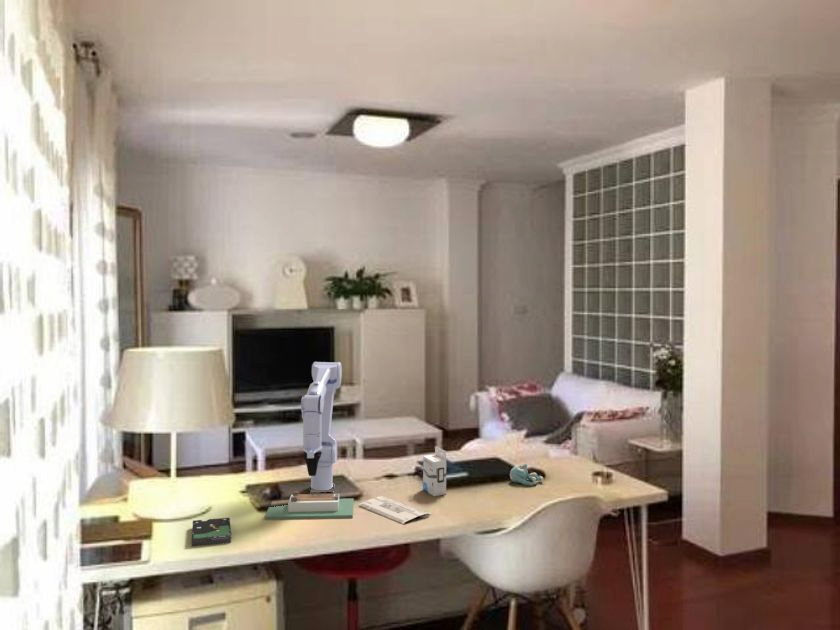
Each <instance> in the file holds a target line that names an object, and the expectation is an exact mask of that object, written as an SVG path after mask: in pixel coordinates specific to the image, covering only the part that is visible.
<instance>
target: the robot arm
mask: <svg viewBox="0 0 840 630" xmlns="http://www.w3.org/2000/svg"><path fill="white" fill-rule="evenodd" d="M342 367H343V365H342V363H341V362H340V361H337V362H336V361H335V362H330V361H329V362H328V361H327V362H326V361H323V362H322V361H314V362H313V363H312V364H311V377H312V380H313V382H312V383H310V384H309V387H308V389H307V392H306V394H305V395H304V396H302V397H301V401H300V411H301V419H302V424H303V425H302V430H303V432H302V433H303V434H302V443H303V444H302V445H300V446H299V450H303V454H302V456H303V459H304V461H305V464H306V469H307V472H308V473H307V474H308V476H309V477H310V487H311V488H313V489H315V490H329V489H331V488H332V487H333V484H334V483H333V475H334V474H333V468H334V467H333V464H336V463H337V460H338V443H337V440H336V439H335V438H334V437H332V435H331V430H332V419H333V418H332V417H333V407H334V399H335V398H334V397H335V393H336V390H338V389H339V388H341V385H342V374H343V368H342Z"/></svg>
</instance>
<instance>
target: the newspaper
mask: <svg viewBox="0 0 840 630" xmlns="http://www.w3.org/2000/svg"><path fill="white" fill-rule="evenodd" d="M358 507H359V508H362V509H364V510H367V511H369V512H371V513H374V514H377V515H379V516H381V517H384V518H386V519H389V520H391V521H394V522H396V523H398V524H401V525H403V526H404V524H405V523H406V522H409V521H411V520H413V519H415V518H417V517H419V518H422V519H424V518H429V517H430V515H431V514H432V512H430V511H429V512H428V511H427V510H423V509H420V508H418V507H417V508H416V507H415V506H410V505H407V504H405V503H402V502H400V501H397V500H395V499H392V498H388V497H386V496H383V495H380V496H379V495H378V496H376V497H373V498H370V499H368V500H366V501H363V502H360V503H359V504H358Z"/></svg>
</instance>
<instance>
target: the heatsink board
mask: <svg viewBox="0 0 840 630" xmlns="http://www.w3.org/2000/svg"><path fill="white" fill-rule="evenodd" d="M296 494H299V491H292V494H291V495H290V497H289V499H288V500H289V502H288V505H284V506H283V505H282V506H276V507H275V506H274V507H269V506H268V507H267V511H266V513H265V516H264V520H299V519H301V520H303V519H306V520H307V519H309V520H310V519H346V518H347V519H349V518H352V519H353V517H354V516H353V515H354V504H355V503H354V502H355V499H354V498H355V497H354V498H340V493H337V492H336V493H333V494H334V500H297V497H295V495H296Z"/></svg>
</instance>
